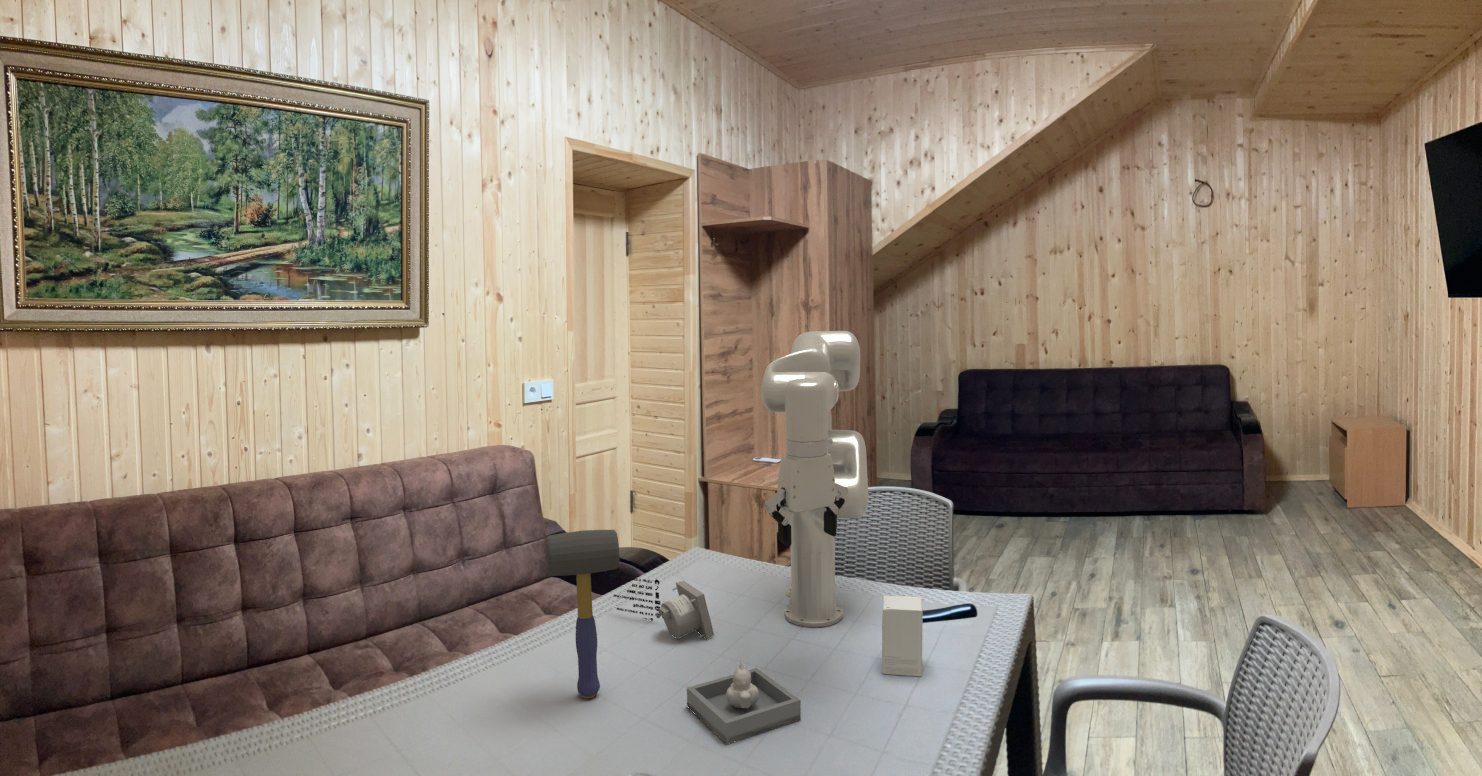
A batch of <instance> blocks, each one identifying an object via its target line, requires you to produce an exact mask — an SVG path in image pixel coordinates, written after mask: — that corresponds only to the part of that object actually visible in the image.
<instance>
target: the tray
mask: <svg viewBox="0 0 1482 776" xmlns="http://www.w3.org/2000/svg"><path fill="white" fill-rule="evenodd" d="M748 670H749V672H750V673H751V683H752V684H753V685H755V686H756V687H757V689H758V691H759V699H758V701H757V702H756V703H754V704H753V705H751V706H750V707H749V708H736V707H734V706H731V705H730V704H729V703H728V700H727V696H726V692H727V689H728V688H729V687H730V686H731V684H732V683H733V674H730V675H727V676H722V677H720V678H716V679H713V680H712V679H711V680H709V681H706V682H701V683H698V684H694V685H691V686H688V687H686V707H687V706H688V707H689V708H690V709H691V710H692V711H693V712H694V713H695V714H696V715H697V716H698V717H699V718H700V719H701V720H702V721H701V720H700V719H699V718H698V717H697V716H696V715H695V714H694V713H693V712H692V711H691V710H690V709H689V708H688V707H687V708H688V709H689V710H690V711H691V712H692V713H693V714H694V715H695V716H696V717H697V718H698V719H699V720H700V721H701V722H702V723H704V724H705V726H706V727H707V728H709V729H710V730H711V731H712V732H713V731H714V732H715V733H716V734H717V735H718V736H719V737H720V738H719V737H718V738H719V739H720V740H722V741H723V742H724V743H725V744H726V745H729V743H730V744H732V742H733V743H735V742H734V741H736V742H737V741H738V740H739V741H741V739H742V740H744V739H749V738H751V737H754V736H757V735H760V734H762V733H766V732H768V731H772V730H775V729H778V728H780V727H784V726H788V725H790V724H793V723H796V722H800V721H801V720H802V718H801V717H802V716H801V715H802V714H801V709H802V708H801V705H802V703H801V699H800V698H798V697H797V696H795V695H794V694H793V693H791V692H790V691H788V689H786V688H785V687H783V686H782V685H780V684H779V683H778V682H777V681H775V680H774V679H772V678H771V677H770V676H768V675H767V674H766V673H764V672H763V671H762V670H760V669H759V668H758V667H755V668H752V669H748ZM714 732H713V733H714ZM715 733H714V734H715ZM716 734H715V735H716ZM717 735H716V736H717ZM739 741H738V742H739Z"/></svg>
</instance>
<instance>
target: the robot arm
mask: <svg viewBox="0 0 1482 776" xmlns="http://www.w3.org/2000/svg"><path fill="white" fill-rule="evenodd" d="M860 375H861V348H860V343H859V341H858V339H857V336H855V334H854V333H852V332H851V331H848V330H818V331H816V330H812V331H806V332H803V333H801V334H799V335H798V336H797V337H795V339H794V341H793V342H792V344H791V349H790V353H789V354H787V355H784V356H782V357H779V358H776V359H775V360H773V361H772V362H770V363H769V364H768V365H767V367H766V368H765V371H764V374H763V377H762V382H761V394H760V395H761V400H762V403H763V405H764V407H765V408H766V409H767V410H768V411H770V412H772V413H784V418H785V422H784V423H785V454H783V455H781V459H780V465H779V470H778V478H777V489H776V490H777V492H776V493H774V494H773V495H772V496H770V497H769V498H768V499H767V500H765V501H764V506H765V508H766V510H767V512H768V514H769V516H770V517H772V519H774V520H775V522H777V537H778V540H779V543H781V544H782V545H785V546H786V547H790V590H787V591H786V592H785V596H786V597H787V598H788V599H789V605H788V606H786V607H785V608H784V611H783V613H784V614H783V617H784V619H786V620H787V621H788V623H789V622H790V623H791V624H794V625H796V626H801V627H805V628H806V627H808V628H823V627H829V626H832V625H835V624H837V623H839V622H840V621H841V620H842V618H843V610H842V608H840V606H838V605H837V604H836V571H835V570H836V556H835V555H836V543H835V537H836V536H837V529H838V519H858V518H862V517H864V516H865V514H866V513H867V510H868V505H869V484H868V483H869V479H868V461H867V460H868V459H867V447H866V443H865V439H864V437H863V435H862V434H861V433H860V432H858V431H856V430H850V429H832V427H833V426H832V421H833V419H832V413H831V410H832V409H833V408H834V406H835V405H836V403H837V402H838V400H839V395H840V394H839V392H849V391H853V390H855V389H856V388H857V386H858V384H859V382H860V377H861V376H860ZM777 506H778V507H779V508H780V509H779V511H778V509H777Z"/></svg>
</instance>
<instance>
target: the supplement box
mask: <svg viewBox="0 0 1482 776" xmlns="http://www.w3.org/2000/svg"><path fill="white" fill-rule="evenodd" d="M922 600H923V599H922V597H921V596H905V595H904V596H902V595H901V596H900V595H883V597H882V614H881V618H882V622H881V625H882V626H881V630H882V631H881V634H882V635H881V637H882V638H881V640H882V641H881V671H882V672H881V673H882V674H883V675H893V676H894V675H895V676H907V677H908V676H909V677H922V675H923V625H924V624H923V623H924V621H923V614H924V613H923V601H922Z"/></svg>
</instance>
